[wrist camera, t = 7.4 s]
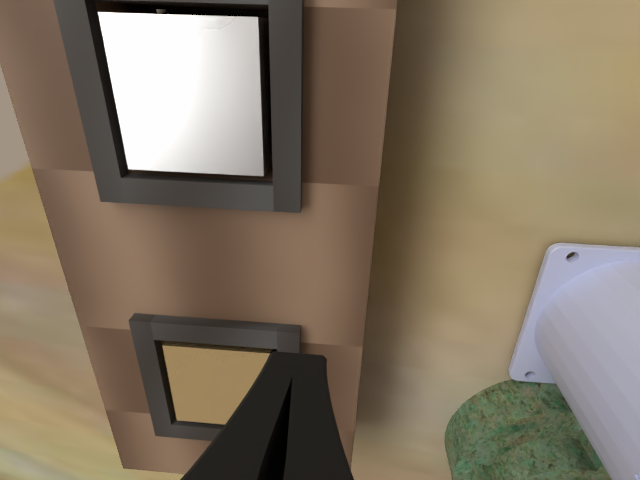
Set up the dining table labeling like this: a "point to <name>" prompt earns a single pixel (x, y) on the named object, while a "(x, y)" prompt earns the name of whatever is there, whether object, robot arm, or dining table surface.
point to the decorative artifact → (520, 436)
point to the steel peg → (191, 91)
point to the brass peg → (211, 378)
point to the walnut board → (208, 208)
